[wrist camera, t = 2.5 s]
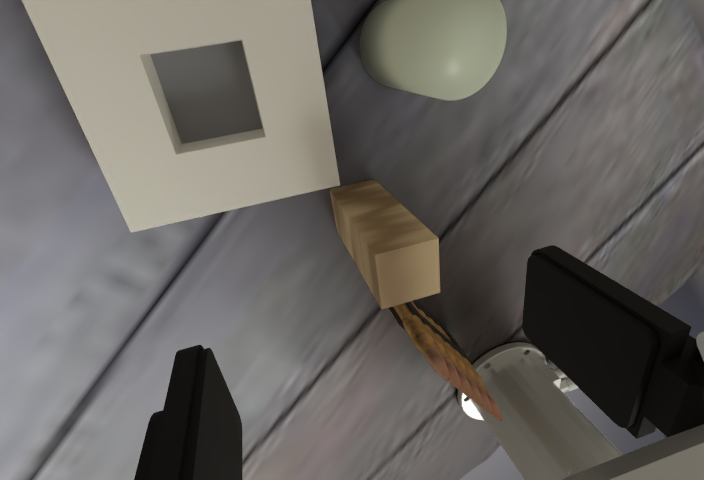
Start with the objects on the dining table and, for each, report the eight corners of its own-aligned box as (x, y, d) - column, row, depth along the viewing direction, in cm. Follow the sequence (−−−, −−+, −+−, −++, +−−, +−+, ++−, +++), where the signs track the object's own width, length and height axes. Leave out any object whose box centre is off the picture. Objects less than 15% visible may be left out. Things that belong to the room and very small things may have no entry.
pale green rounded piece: (432, -8, 28) (510, -31, 20) (435, 80, 30) (503, 91, 23) (354, 3, 27) (403, -16, 19) (364, 93, 29) (410, 109, 22)
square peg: (374, 179, 33) (438, 238, 22) (378, 220, 35) (440, 292, 24) (329, 189, 32) (374, 255, 22) (336, 230, 34) (381, 309, 24)
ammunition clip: (448, 330, 43) (514, 418, 33) (436, 341, 44) (498, 431, 33) (392, 280, 38) (451, 366, 28) (379, 293, 38) (432, 382, 28)
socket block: (289, -43, 24) (300, -63, 20) (325, 166, 31) (340, 185, 27) (51, -16, 22) (6, -32, 18) (146, 205, 29) (130, 232, 24)
